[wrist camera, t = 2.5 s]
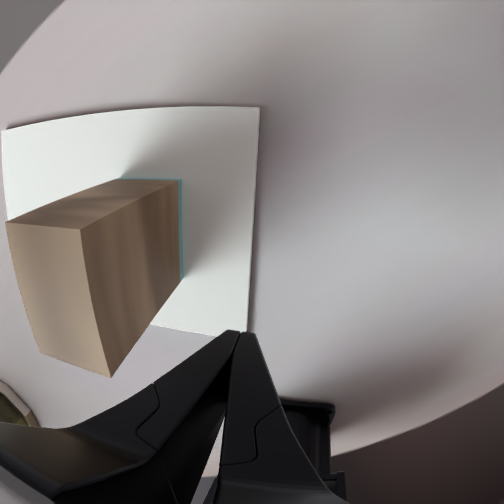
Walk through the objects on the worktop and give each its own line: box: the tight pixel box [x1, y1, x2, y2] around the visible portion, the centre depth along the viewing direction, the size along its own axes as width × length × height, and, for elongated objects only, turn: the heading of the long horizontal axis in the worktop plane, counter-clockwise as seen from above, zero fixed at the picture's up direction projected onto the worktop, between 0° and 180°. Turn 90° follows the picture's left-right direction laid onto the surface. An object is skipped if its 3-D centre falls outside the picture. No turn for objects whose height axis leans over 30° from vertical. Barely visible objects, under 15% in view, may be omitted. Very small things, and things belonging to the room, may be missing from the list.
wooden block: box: [5, 178, 183, 378], centre depth 14 cm, size 4×6×9 cm, turn 177°
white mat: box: [1, 106, 260, 336], centre depth 19 cm, size 20×14×1 cm
